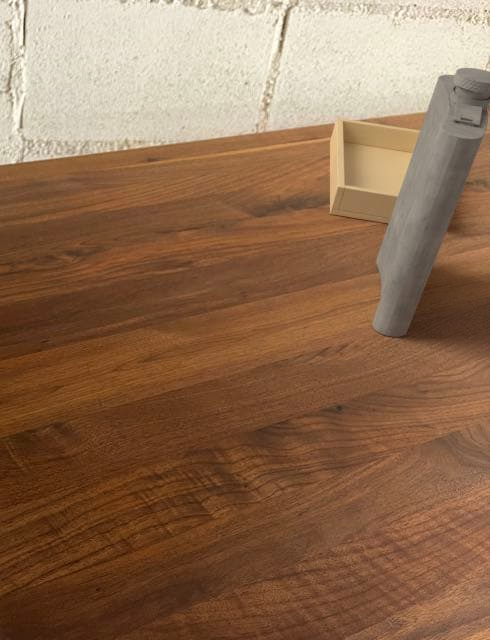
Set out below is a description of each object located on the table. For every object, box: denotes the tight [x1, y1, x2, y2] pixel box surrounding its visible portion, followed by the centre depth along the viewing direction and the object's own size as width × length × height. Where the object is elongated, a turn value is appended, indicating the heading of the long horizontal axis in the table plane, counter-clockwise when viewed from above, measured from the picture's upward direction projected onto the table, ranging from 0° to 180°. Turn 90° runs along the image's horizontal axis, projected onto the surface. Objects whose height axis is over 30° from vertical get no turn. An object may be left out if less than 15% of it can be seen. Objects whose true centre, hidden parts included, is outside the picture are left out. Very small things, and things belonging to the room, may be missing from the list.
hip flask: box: [371, 67, 490, 338], centre depth 78 cm, size 16×4×20 cm, turn 165°
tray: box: [329, 117, 420, 225], centre depth 103 cm, size 12×22×3 cm, turn 169°
